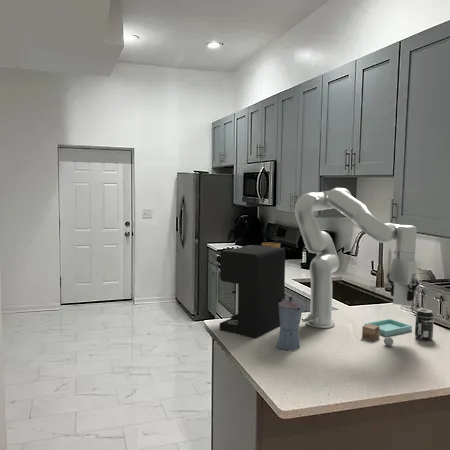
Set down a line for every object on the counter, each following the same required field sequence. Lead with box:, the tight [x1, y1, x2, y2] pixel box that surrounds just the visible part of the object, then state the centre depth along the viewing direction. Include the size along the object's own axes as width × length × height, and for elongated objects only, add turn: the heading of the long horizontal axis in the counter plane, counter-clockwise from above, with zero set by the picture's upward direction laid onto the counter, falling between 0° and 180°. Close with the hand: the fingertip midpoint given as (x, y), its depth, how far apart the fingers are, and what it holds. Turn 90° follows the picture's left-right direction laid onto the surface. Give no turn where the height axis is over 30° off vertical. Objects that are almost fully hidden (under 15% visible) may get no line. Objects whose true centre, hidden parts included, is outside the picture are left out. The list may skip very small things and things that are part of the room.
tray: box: [364, 318, 413, 338], centre depth 201 cm, size 16×12×2 cm
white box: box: [392, 282, 412, 307], centre depth 188 cm, size 4×7×10 cm, turn 69°
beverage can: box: [414, 308, 435, 341], centre depth 190 cm, size 7×7×12 cm
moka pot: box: [277, 296, 304, 352], centre depth 178 cm, size 10×15×20 cm, turn 28°
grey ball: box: [383, 336, 394, 347], centre depth 181 cm, size 4×4×4 cm
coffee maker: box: [219, 244, 287, 340], centre depth 203 cm, size 28×20×35 cm
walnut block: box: [361, 324, 380, 342], centre depth 190 cm, size 5×5×5 cm
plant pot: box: [261, 242, 281, 248], centre depth 369 cm, size 15×15×16 cm
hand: (402, 297), depth 188 cm, fingers closed on white box, 7 cm apart
